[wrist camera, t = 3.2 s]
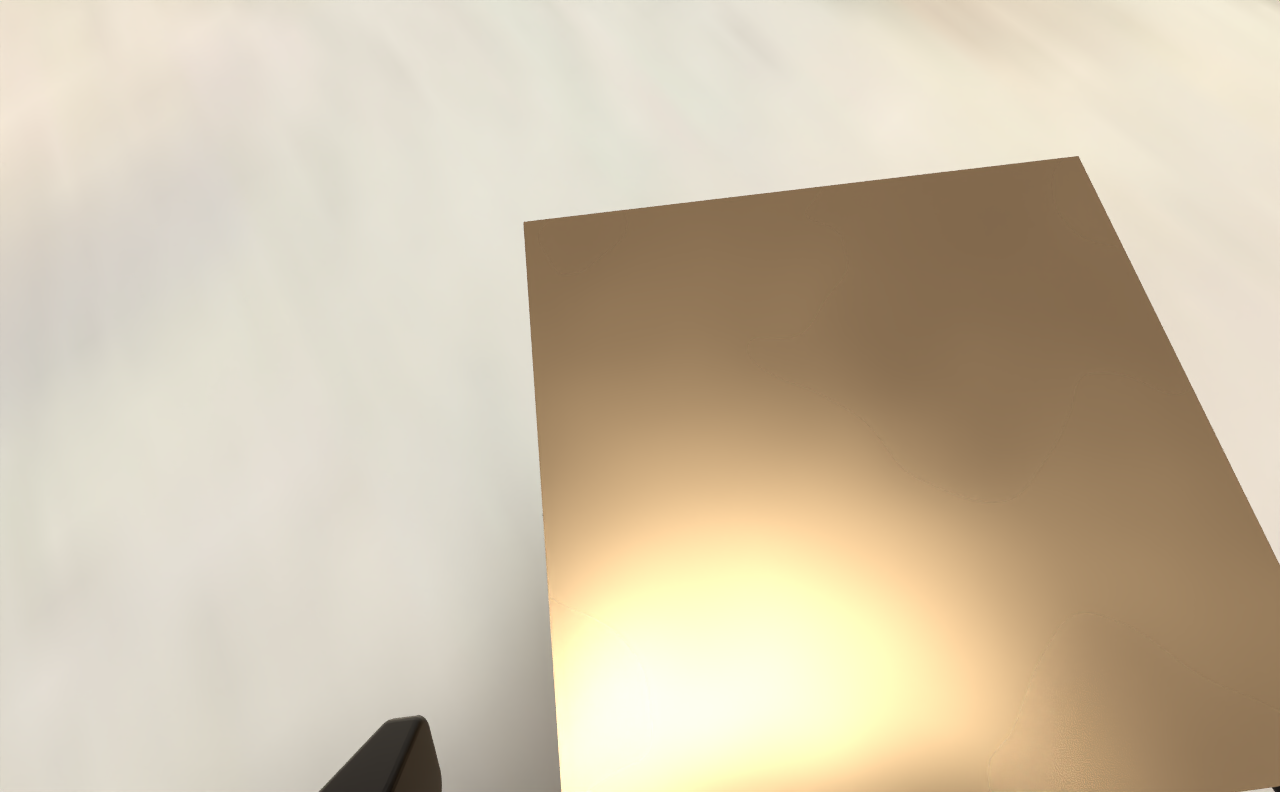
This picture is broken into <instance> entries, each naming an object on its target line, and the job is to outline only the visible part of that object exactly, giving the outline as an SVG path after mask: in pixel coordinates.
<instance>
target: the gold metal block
mask: <svg viewBox="0 0 1280 792" xmlns="http://www.w3.org/2000/svg"><path fill="white" fill-rule="evenodd" d="M524 237H525V252H526V267H527V282H528V297H529V312H530V327H531V342H532V356H533V371H534V386H535V401H536V416H537V431H538V446H539V461H540V476H541V491H542V506H543V521H544V536H545V551H546V566H547V581H548V596H549V611H550V626H551V641H552V656H553V671H554V686H555V701H556V716H557V731H558V746H559V761H560V776H561V791H562V792H1241V791H1248V790H1255V789H1263V788H1270V787H1277V786H1280V565H1279V563H1278V561H1277V559H1276V557H1275V555H1274V552H1273V550H1272V548H1271V546H1270V544H1269V542H1268V540H1267V538H1266V536H1265V534H1264V532H1263V530H1262V528H1261V526H1260V524H1259V522H1258V520H1257V518H1256V516H1255V514H1254V512H1253V510H1252V508H1251V506H1250V504H1249V502H1248V500H1247V498H1246V496H1245V494H1244V492H1243V490H1242V488H1241V485H1240V483H1239V481H1238V479H1237V477H1236V475H1235V473H1234V471H1233V469H1232V467H1231V465H1230V463H1229V461H1228V459H1227V457H1226V455H1225V453H1224V451H1223V449H1222V447H1221V445H1220V443H1219V441H1218V439H1217V437H1216V435H1215V433H1214V431H1213V429H1212V427H1211V425H1210V423H1209V420H1208V418H1207V416H1206V414H1205V412H1204V410H1203V408H1202V406H1201V404H1200V402H1199V400H1198V398H1197V396H1196V394H1195V392H1194V390H1193V388H1192V386H1191V384H1190V382H1189V380H1188V378H1187V376H1186V374H1185V372H1184V370H1183V368H1182V366H1181V364H1180V362H1179V360H1178V358H1177V356H1176V353H1175V351H1174V349H1173V347H1172V345H1171V343H1170V341H1169V339H1168V337H1167V335H1166V333H1165V331H1164V329H1163V327H1162V325H1161V323H1160V321H1159V319H1158V317H1157V315H1156V313H1155V311H1154V309H1153V307H1152V305H1151V303H1150V301H1149V299H1148V297H1147V295H1146V293H1145V291H1144V289H1143V286H1142V284H1141V282H1140V280H1139V278H1138V276H1137V274H1136V272H1135V270H1134V268H1133V266H1132V264H1131V262H1130V260H1129V258H1128V256H1127V254H1126V252H1125V250H1124V248H1123V246H1122V244H1121V242H1120V240H1119V238H1118V236H1117V234H1116V232H1115V230H1114V228H1113V226H1112V224H1111V221H1110V219H1109V217H1108V215H1107V213H1106V211H1105V209H1104V207H1103V205H1102V203H1101V201H1100V199H1099V197H1098V195H1097V193H1096V191H1095V189H1094V187H1093V185H1092V183H1091V181H1090V179H1089V177H1088V175H1087V173H1086V171H1085V169H1084V167H1083V165H1082V163H1081V161H1080V159H1079V157H1078V156H1075V157H1067V158H1059V159H1050V160H1042V161H1033V162H1025V163H1017V164H1008V165H1000V166H991V167H983V168H974V169H966V170H958V171H949V172H941V173H932V174H924V175H915V176H907V177H899V178H890V179H882V180H873V181H865V182H857V183H848V184H840V185H831V186H823V187H814V188H806V189H798V190H789V191H781V192H772V193H764V194H755V195H747V196H739V197H730V198H722V199H713V200H705V201H696V202H688V203H680V204H671V205H663V206H654V207H646V208H638V209H629V210H621V211H612V212H604V213H595V214H587V215H579V216H570V217H562V218H553V219H545V220H536V221H528V222H524Z"/></svg>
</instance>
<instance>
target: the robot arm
mask: <svg viewBox="0 0 1280 792" xmlns="http://www.w3.org/2000/svg"><path fill="white" fill-rule="evenodd" d="M1272 788H1273V790H1274V791H1275V792H1280V786H1277V787H1272ZM319 792H442V779H441V771H440V767H439V763H438V759H437V755H436V751H435V747H434V743H433V739H432V735H431V731H430V727H429V724H428V722H427V720H426V719H425V718H424V717H422V716H420V715H417V716H409V717H402V718H394V719H391V720H388V721H386V722H385V723H384V724H383V725H382V726H381V727H380V728H379V729H378V730H377V731H376V732H375V733H374V734H373V735H372V736H371V737H370V738H369V740H368V741H367V742H366V743H365V744H364V745H363V746H362V747H361V748H360V749H359V750H358V751H357V752H356V753H355V754H354V755H353V756H352V757H351V758H350V760H349V761H348V762H347V763H346V764H345V765H344V766H343V767H342V768H341V769H340V770H339V771H338V772H337V773H336V774H335V775H334V776H333V777H332V778H331V780H330V781H329V782H328V783H327V784H326V785H325V786H324V787H323V788H322V789H321V790H320V791H319Z"/></svg>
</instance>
